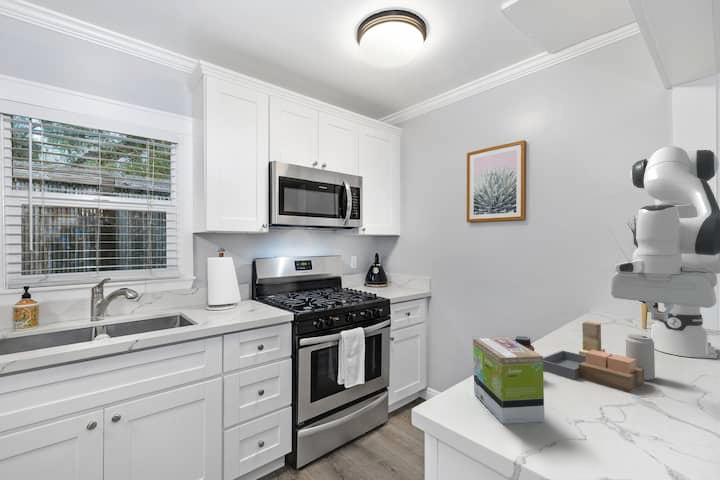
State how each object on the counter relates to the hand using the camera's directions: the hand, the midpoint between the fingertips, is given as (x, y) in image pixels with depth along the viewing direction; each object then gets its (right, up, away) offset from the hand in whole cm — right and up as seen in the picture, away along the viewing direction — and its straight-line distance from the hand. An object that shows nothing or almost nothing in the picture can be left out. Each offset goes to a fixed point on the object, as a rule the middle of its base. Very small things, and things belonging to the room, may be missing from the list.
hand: (659, 320), depth 87 cm
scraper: (+1, -20, +27) cm, 34 cm away
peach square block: (-8, -15, +11) cm, 20 cm away
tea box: (-43, -19, -7) cm, 48 cm away
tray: (-13, -20, +18) cm, 29 cm away
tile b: (-5, -15, +7) cm, 17 cm away
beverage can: (+4, -20, +11) cm, 23 cm away
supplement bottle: (-29, -20, +12) cm, 37 cm away
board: (-6, -19, +9) cm, 22 cm away
